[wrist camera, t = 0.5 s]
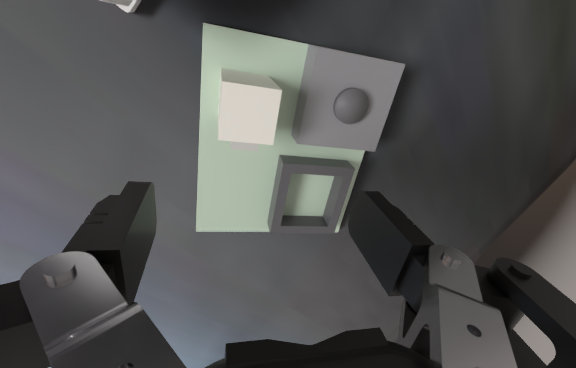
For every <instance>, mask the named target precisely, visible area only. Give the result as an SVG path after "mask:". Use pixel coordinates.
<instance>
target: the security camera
mask: <svg viewBox="0 0 576 368" xmlns="http://www.w3.org/2000/svg"><path fill="white" fill-rule="evenodd" d="M99 1H102V2H108V3H113V4H116V5H117V6H119V7H120V8H121V9H122V10H123V11H125V12H129V13H133V12H135V10H136V9H137V7H138V5H139V4H140V2H141V1H142V0H99Z"/></svg>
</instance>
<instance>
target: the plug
mask: <svg viewBox="0 0 576 368" xmlns="http://www.w3.org/2000/svg"><path fill="white" fill-rule="evenodd" d="M281 95H282V89H281V88H280V87H279V86H278V85H277V84H276V83H275V82H274V81H273V80H272V79H271V78H270V77H269V76H266V75H260V74H254V73H248V72H241V71H235V70H229V69H223V68H221V72H220V88H219V103H218V140H223V141H230V144H231V149H236V150H248V151H258V145H259V144H266V145H273V143H274V137H275V131H276V125H277V119H278V113H279V107H280V101H281Z"/></svg>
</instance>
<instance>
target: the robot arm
mask: <svg viewBox="0 0 576 368" xmlns="http://www.w3.org/2000/svg"><path fill="white" fill-rule="evenodd" d="M348 228H349V233H350V235H351V237H352V239H353V240H354V242H355V243H356V245H357V247H358V248H359V250H360V251H361V253H362V254H363V256H364V258H365V259H366V261H367V262H368V264H369V266H370V267H371V269H372V270H373V272H374V273H375V275H376V277H377V278H378V280H379V281H380V283H381V285H382V286H383V288H384V289H385V291H386V292H387V294H388V296H401V295H403V296H404V298H405V299H404V301H403V303H402V306H401V314H400V323H399V332H398V341H397V343H394V342H390V341H387V340H386V338H385V336H384V335H383V333H382V331H381V329H380V328H370V329H361V330H351V331H345V332H343V333H340V334H338V335H336V336H333V337H331V338H328V339H326V340H324V341H321V342H319V343H317V344H314V345H304V344H297V343H290V342H283V341H277V340H270V339H265V340H256V341H246V342H237V343H227V344H226V348H225V358H224V359H221V360H219V361H217V362H214V363H213V364H211V365H209V366H207V367H205V368H576V304H575V303H574V302H573V301H572V300H570V299H569V298H568V297H567V296H565V295H564V294H563V293H561V292H560V291H559V290H558V289H557V288H555V287H554V286H553V285H552V284H550V283H549V282H548V281H547V280H545V279H544V278H543V277H542V276H540V275H539V274H538V273H537V272H535V271H534V270H533V269H531V268H530V267H528V266H526V265H524V264H522V263H520V262H518V261H515V260H512V259H509V258H498V259H496V261H495V262H494V264H493V265H492V267H491V268H490V269H489V268H485V267H480V266H475V265H474V264H473V262H472V261H471V260H470V259H469V258H468V257H467V256H466V255H464V254H463V253H462V252H460V251H458V250H456V249H454V248H452V247H449V246H446V245H441V244H434V243H433V242H432V241H431V240H430V239H429V238H428V237H427V236H426V235H425V234H424V233H423V232H422V231H421V230H420V229H419V228H418V227H417V226H416V225H414V223H413V222H412V221H411V220H410V219H407V216H406V215H405V214H404V213H403V212H402V211H401V210H400V209H398V208H397V207H395V206H393V205H392V204H391V203H390V202H389V201H388V200H387V199H386V198H385V197H384V196H383V195H382V194H381V193H380V192H378V191H359V192H358V194H357V196H356V199H355V203H354V206H353V209H352V212H351V216H350V219H349V223H348ZM155 233H156V206H155V192H154V185H153V183H152V182H130V181H129V182H128V183H127V184H126V186H125V188H124V189H123V191H122V192H121V194H120V195H110V196H108V197H106V198H105V199H103V200H102V201H100V202H98V203H97V204H96V206H95V207H94V208H93V210H92V211H91V213H90V215H88V217H87V218H86V219H85V221H84V224H82V225H81V226H80V228H79V229H78V231H77V232H76V233H75V235H74V236H73V238H72V239H71V240H70V242H69V243H68V244H67V246H66V247H65V249H64V250H63V251H62V253H59V254H56V255H52V256H50V257H47V258H45V259H43V260H41V261H39V262H37V263H35V264H34V265H33V266H31V267H30V268H29V269H28V270H27V271H26V272H25V273H24V274H23V275H22V277H21V279H20V280H18V281H15V282H11V283H7V284H2V285H0V368H48V367H51V368H186V366H185V365H184V364H183V362H182V361H181V360H180V358H179V357H178V356H177V354H176V353H175V352H174V350H173V349H172V348H171V346H170V345H169V344H168V342H167V341H166V340H165V338H164V337H163V335H162V334H161V333H160V331H159V330H158V329H157V327H156V326H155V325H154V323H153V322H152V321H151V319H150V318H149V317H148V315H147V314H146V313H145V311H144V310H143V309H142V307H141V306H140V305H139V304H138V303H136V302H134V299H135V296H136V293H137V290H138V287H139V283H140V280H141V277H142V274H143V271H144V268H145V265H146V262H147V259H148V256H149V253H150V249H151V246H152V243H153V240H154V237H155ZM524 314H525V315H526V316H527V317H528V318H529V319H530V320H531V321H532V322H533V323H534V324H535V325H536V326H537V327H538V328H539V329H540V330H541V331H542V332H543V333H544V334H546V335H547V336H548V337H549V339H550V340H551V341H552V343H553V344H554V347H555V350H556V356H555V358H554V359H553V360H552V361H551V362H550V363H549V365H548V366H546V364H545V363H544V362H543V361H542V360H541V359H540V358H539V357H538V356H537V355H536V354H535V353H534V351H532V349H531V348H530V347H529V346H528V345H527V344H526V343H525V342H524V341H523V340H522V339H521V337H520V336H519V335H518V334H517V333H516V332H515V331H514V330H513V328H514V327H515V325H516V324H517V323H518V322H519V321H520V319H521V318H522V317H523V316H524Z"/></svg>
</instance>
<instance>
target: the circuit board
mask: <svg viewBox="0 0 576 368" xmlns="http://www.w3.org/2000/svg"><path fill="white" fill-rule="evenodd" d="M404 67H405V64H402V63H397V62H393V61H389V60H384V59H379V58H374V57H369V56H364V55H359V54H354V53H349V52H345V51H340V50H335V49H330V48H325V47H320V46H315V45H310V44H305V43H300V42H295V41H291V40H286V39H281V38H276V37H271V36H266V35H261V34H256V33H251V32H246V31H242V30H237V29H232V28H227V27H222V26H217V25H212V24H207V23H203V42H202V70H201V99H200V128H199V157H198V186H197V215H196V232H269V228H268V224H267V220H268V214H269V209H270V203H271V198H272V192H273V187H274V181H275V176H276V170H277V165H278V159H279V155H289V156H301V157H313V158H325V159H337V160H348V161H349V163H350V164H351V165H352V166H353V167H354V168H355V171H354V174H353V177H352V180H351V183H350V186H349V189H348V193H347V196H346V199H345V202H344V205H343V208H342V211H341V214H340V217H339V220H338V223H337V226H336V229H335V232H338V231H339V228H340V225H341V221H342V218H343V215H344V212H345V209H346V206H347V203H348V200H349V197H350V194H351V191H352V188H353V185H354V182H355V179H356V176H357V173H358V170H359V167H360V164H361V161H362V158H363V155H364V152H365V151H374V152H375V150H376V147H377V144H378V141H379V139H380V136H381V133H382V130H383V127H384V124H385V121H386V119H387V116H388V113H389V110H390V107H391V104H392V101H393V99H394V96H395V93H396V90H397V87H398V84H399V81H400V79H401V76H402V73H403V70H404ZM221 68H223V69H229V70H235V71H241V72H248V73H254V74H260V75H266V76H269V77H270V78H271V79H272V80H273V81H274V82H275V83H276V84H277V85H278V86H279V87H280V88H281V89H282V95H281V101H280V107H279V113H278V119H277V125H276V131H275V137H274V143H273V145H266V144H259V145H258V151H248V150H236V149H231V144H230V141H223V140H218V103H219V88H220V72H221ZM333 179H334V176H325V175H310V174H295V173H291V178H290V183H289V188H288V192H287V197H286V202H285V207H284V211H283V215H291V216H323V213H324V210H325V206H326V203H327V199H328V196H329V193H330V189H331V186H332V182H333Z"/></svg>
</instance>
